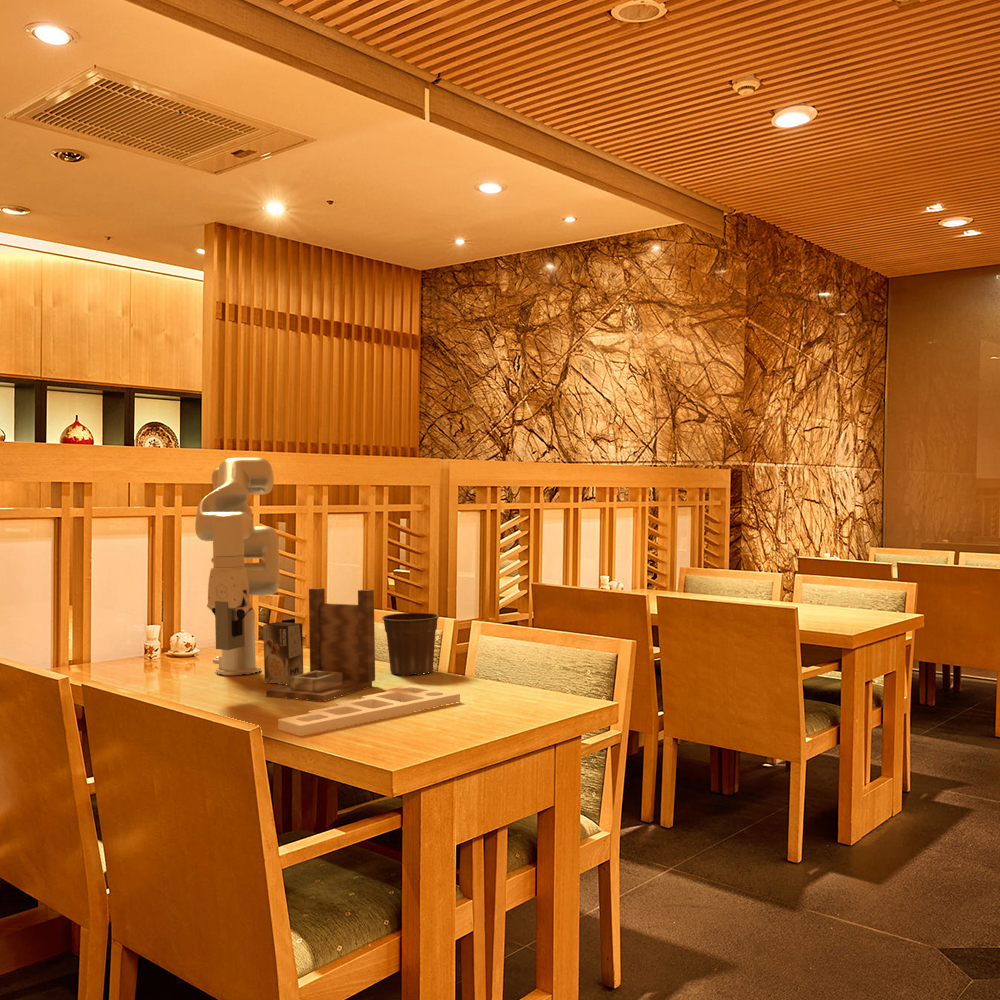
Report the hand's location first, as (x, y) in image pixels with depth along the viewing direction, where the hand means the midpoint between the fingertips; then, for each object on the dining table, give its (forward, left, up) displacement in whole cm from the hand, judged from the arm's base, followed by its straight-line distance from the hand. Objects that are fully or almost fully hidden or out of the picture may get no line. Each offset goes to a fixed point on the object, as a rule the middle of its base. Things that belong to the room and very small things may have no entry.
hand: (230, 634), depth 246 cm
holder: (+41, -2, -17) cm, 45 cm away
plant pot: (+24, +48, -16) cm, 56 cm away
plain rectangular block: (0, 0, -3) cm, 3 cm away
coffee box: (-1, +21, -16) cm, 27 cm away
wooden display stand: (+16, +15, -16) cm, 28 cm away
